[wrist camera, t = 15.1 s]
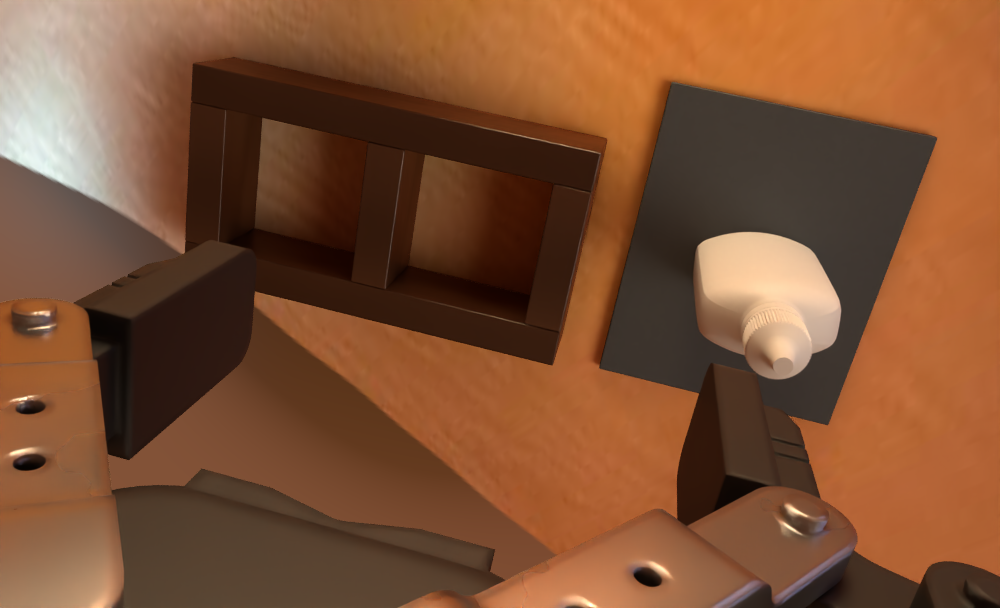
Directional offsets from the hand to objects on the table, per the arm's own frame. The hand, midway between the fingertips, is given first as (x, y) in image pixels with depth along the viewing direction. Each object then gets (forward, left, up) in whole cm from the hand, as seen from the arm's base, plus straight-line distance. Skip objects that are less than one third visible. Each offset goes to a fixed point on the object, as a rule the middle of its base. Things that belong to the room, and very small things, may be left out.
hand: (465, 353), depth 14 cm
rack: (+6, -9, -28) cm, 30 cm away
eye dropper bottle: (+5, +9, -28) cm, 30 cm away
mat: (+5, +9, -28) cm, 30 cm away
